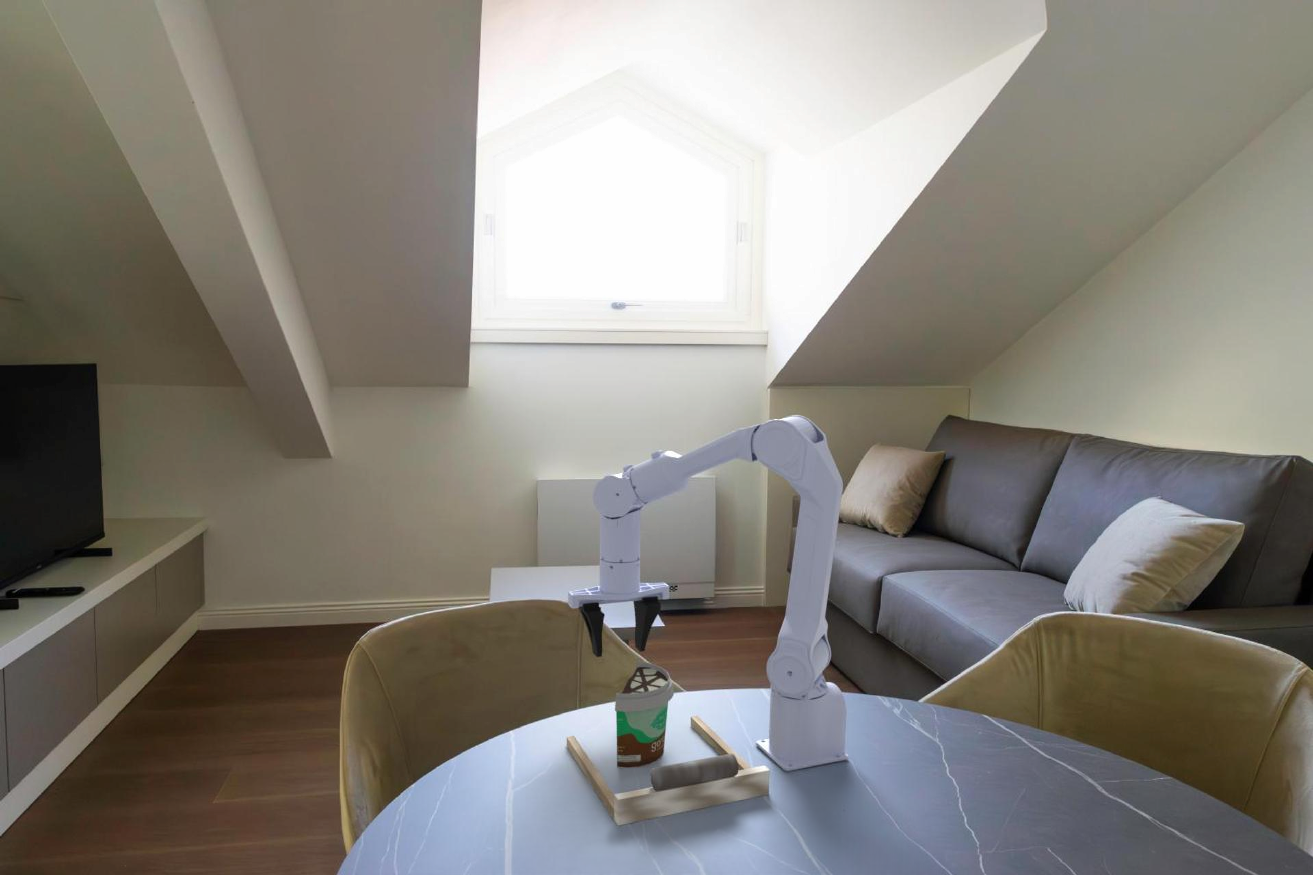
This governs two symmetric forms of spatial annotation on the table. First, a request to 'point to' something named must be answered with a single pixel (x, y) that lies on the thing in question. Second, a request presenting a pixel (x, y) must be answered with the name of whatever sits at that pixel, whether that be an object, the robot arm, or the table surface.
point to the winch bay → (681, 782)
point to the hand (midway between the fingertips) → (618, 651)
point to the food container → (642, 716)
